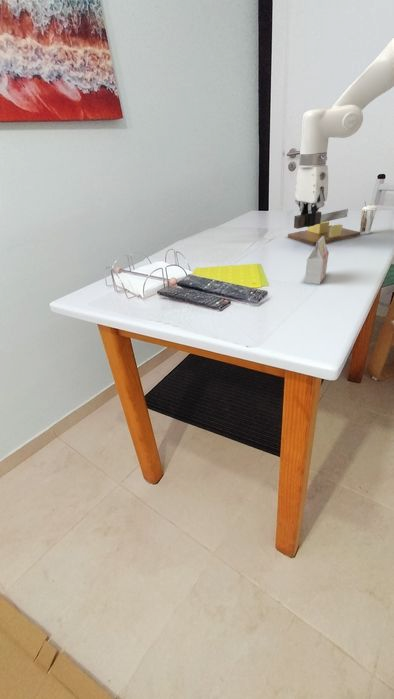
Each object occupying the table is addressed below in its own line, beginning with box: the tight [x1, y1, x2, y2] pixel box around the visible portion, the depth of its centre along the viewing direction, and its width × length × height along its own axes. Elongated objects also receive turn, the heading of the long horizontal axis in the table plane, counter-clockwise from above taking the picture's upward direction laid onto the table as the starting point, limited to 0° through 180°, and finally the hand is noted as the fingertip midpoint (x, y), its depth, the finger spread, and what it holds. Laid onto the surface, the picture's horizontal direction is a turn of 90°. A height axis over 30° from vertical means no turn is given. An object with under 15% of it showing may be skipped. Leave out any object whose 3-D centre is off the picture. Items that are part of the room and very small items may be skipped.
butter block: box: [307, 221, 330, 234], centre depth 120 cm, size 4×6×4 cm, turn 24°
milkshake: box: [359, 200, 378, 235], centre depth 117 cm, size 4×5×10 cm
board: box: [287, 224, 361, 247], centre depth 119 cm, size 20×14×1 cm
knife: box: [293, 208, 349, 230], centre depth 109 cm, size 21×2×4 cm, turn 114°
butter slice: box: [329, 224, 343, 237], centre depth 113 cm, size 4×1×4 cm, turn 114°
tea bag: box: [304, 236, 329, 285], centre depth 84 cm, size 4×7×10 cm, turn 151°
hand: (307, 225), depth 109 cm, fingers closed on knife, 2 cm apart
